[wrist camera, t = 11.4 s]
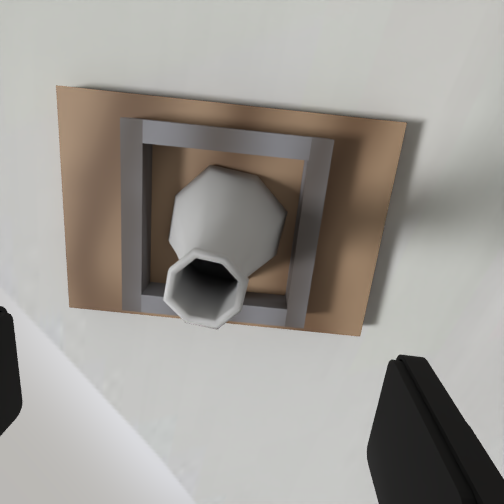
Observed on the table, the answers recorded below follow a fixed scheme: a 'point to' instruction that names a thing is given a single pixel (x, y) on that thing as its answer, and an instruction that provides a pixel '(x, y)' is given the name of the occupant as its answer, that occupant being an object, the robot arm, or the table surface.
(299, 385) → the table surface
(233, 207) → the flask
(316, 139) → the walnut board
